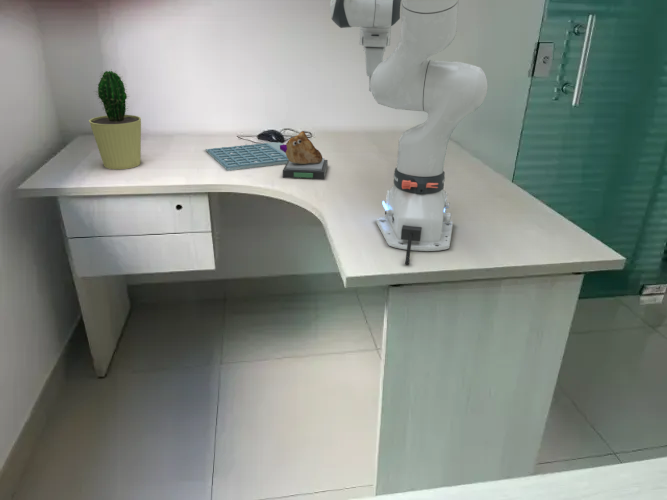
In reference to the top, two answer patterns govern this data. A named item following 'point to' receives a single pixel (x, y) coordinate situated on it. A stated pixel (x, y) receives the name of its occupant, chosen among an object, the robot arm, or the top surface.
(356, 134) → the top surface
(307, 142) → the decorative rock
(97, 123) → the potted cactus
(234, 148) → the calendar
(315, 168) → the scale
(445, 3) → the robot arm
